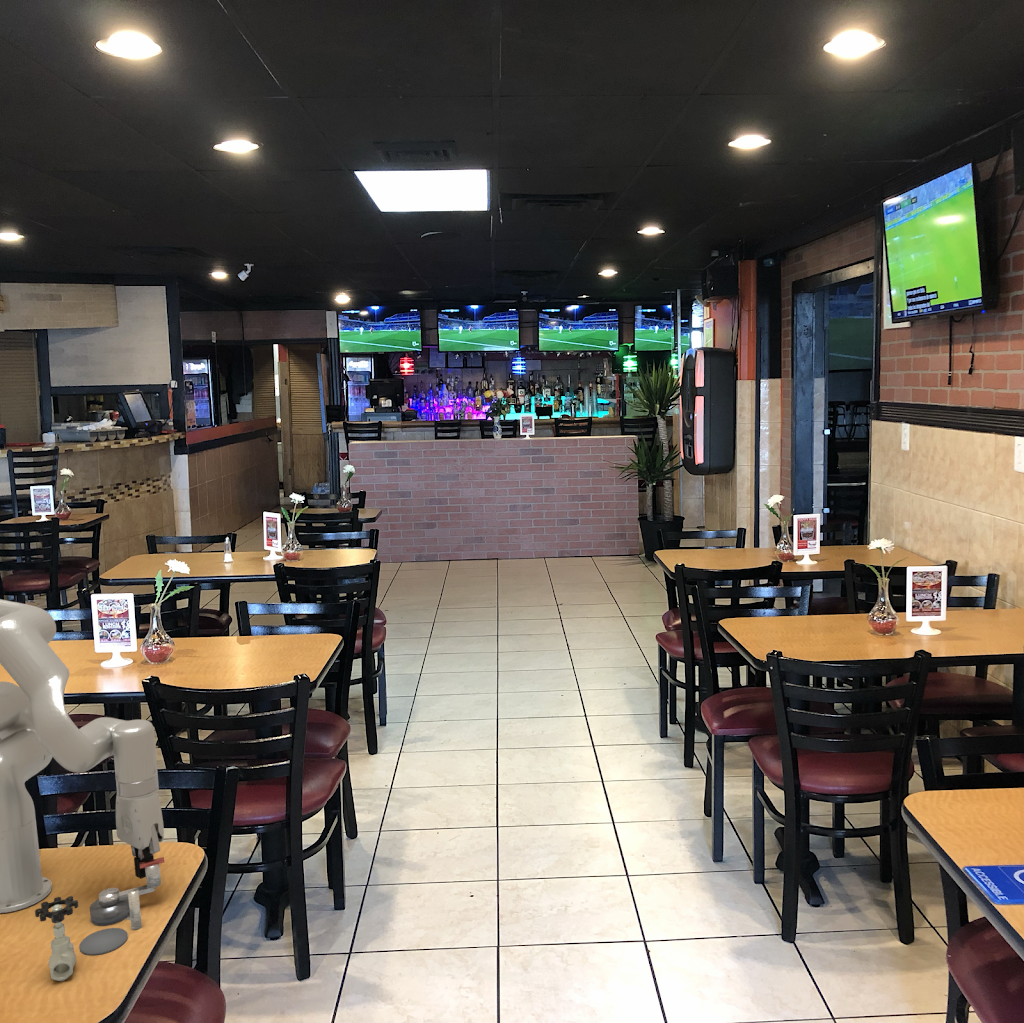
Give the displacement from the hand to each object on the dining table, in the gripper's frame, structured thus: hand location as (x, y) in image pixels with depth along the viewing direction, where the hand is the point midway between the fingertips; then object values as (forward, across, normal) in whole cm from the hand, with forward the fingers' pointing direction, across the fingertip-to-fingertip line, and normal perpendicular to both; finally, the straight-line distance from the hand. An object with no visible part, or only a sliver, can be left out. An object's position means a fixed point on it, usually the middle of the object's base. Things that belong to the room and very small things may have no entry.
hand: (145, 874), depth 182 cm
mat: (+5, +8, -13) cm, 16 cm away
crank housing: (+5, +3, -7) cm, 9 cm away
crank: (+2, +2, -4) cm, 5 cm away
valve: (+5, +11, -22) cm, 25 cm away
